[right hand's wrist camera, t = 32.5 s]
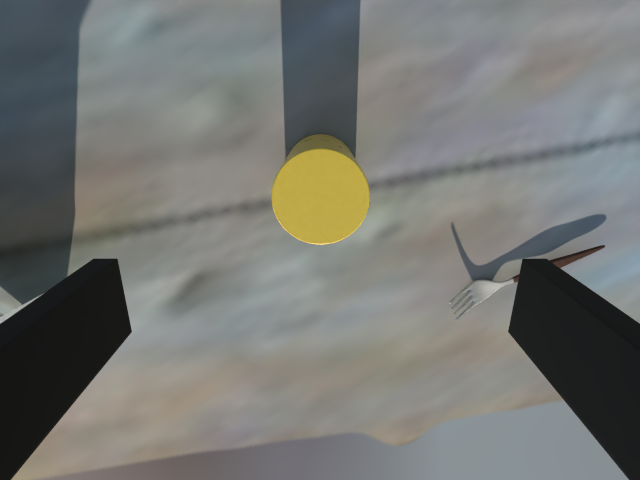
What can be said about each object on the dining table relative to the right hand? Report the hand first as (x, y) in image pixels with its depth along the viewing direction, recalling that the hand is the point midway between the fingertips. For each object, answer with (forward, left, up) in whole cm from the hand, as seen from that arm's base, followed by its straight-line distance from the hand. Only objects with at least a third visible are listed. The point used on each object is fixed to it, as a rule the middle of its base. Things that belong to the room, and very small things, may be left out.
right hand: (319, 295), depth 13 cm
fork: (+21, +10, -24) cm, 34 cm away
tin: (0, 0, -24) cm, 24 cm away
